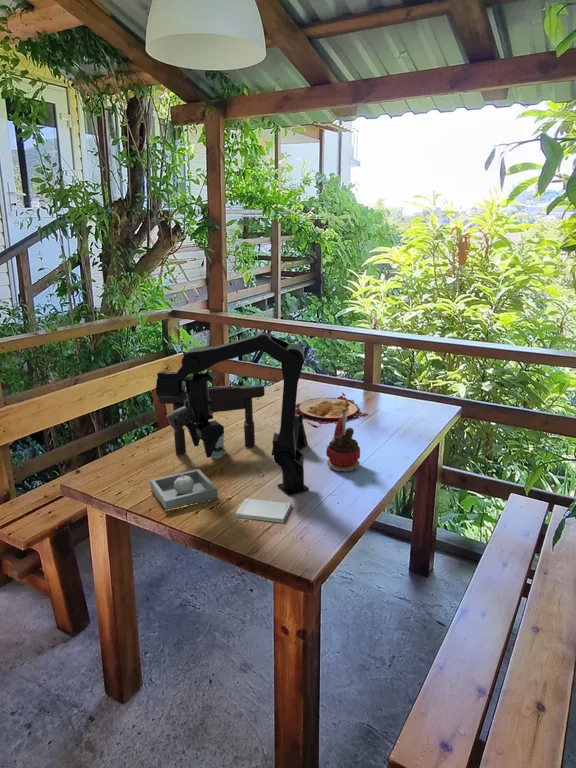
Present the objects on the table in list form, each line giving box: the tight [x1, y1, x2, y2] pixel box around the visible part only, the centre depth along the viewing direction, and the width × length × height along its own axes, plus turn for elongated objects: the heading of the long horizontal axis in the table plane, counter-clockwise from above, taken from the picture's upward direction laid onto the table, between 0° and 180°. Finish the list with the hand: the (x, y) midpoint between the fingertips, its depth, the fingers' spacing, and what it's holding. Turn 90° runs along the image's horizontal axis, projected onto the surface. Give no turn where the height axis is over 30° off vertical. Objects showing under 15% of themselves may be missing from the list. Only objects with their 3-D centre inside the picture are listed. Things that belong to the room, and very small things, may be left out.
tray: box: [149, 468, 219, 510], centre depth 147 cm, size 14×14×3 cm
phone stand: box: [294, 413, 309, 452], centre depth 176 cm, size 9×6×12 cm, turn 147°
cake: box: [325, 409, 361, 472], centre depth 161 cm, size 11×9×18 cm
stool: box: [158, 385, 265, 460], centre depth 175 cm, size 16×21×33 cm
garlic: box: [174, 473, 194, 494], centre depth 147 cm, size 6×5×5 cm
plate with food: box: [295, 392, 370, 428], centre depth 211 cm, size 25×26×4 cm
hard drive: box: [234, 498, 293, 524], centre depth 138 cm, size 2×8×12 cm
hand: (202, 451), depth 148 cm, fingers open, 9 cm apart
